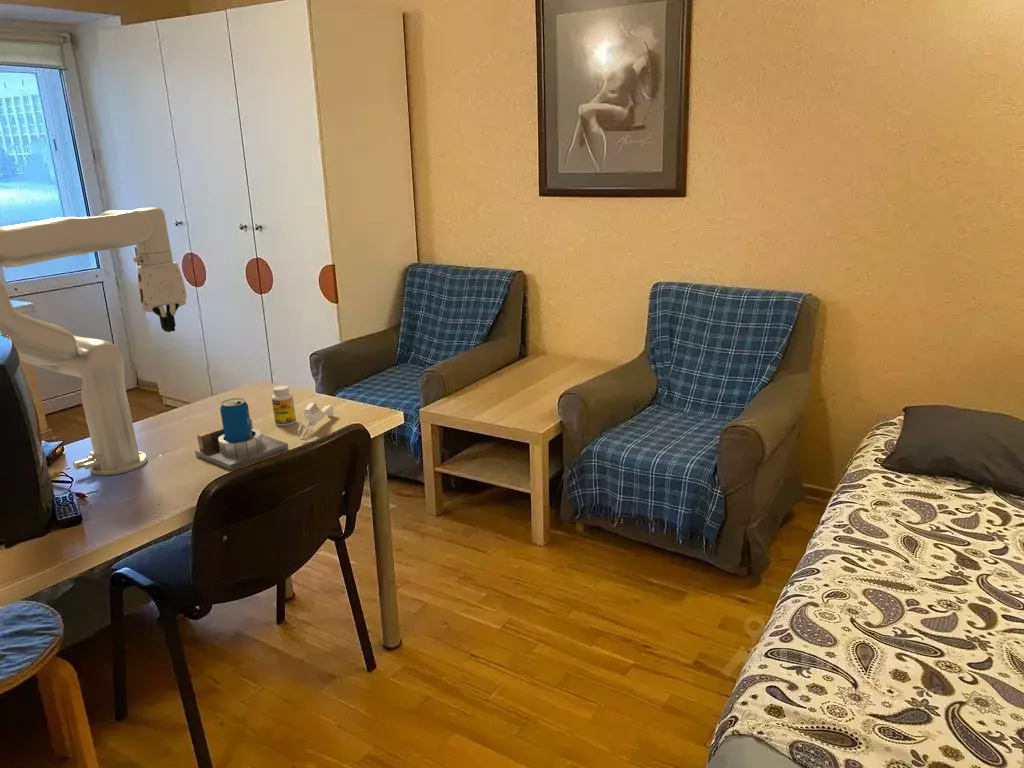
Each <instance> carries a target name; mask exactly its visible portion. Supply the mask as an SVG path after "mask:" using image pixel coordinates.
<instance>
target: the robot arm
mask: <svg viewBox="0 0 1024 768" xmlns="http://www.w3.org/2000/svg"><path fill="white" fill-rule="evenodd" d="M169 237H170V236H169V232H168V227H167V220H166V215H165V212H164V210H163V209H162V208H160V207H157V206H156V207H155V206H154V207H153V206H152V207H150V206H149V207H141V208H135V209H133V210H132V209H128V210H127V209H125V210H124V209H122V210H120V209H118V210H117V209H114V210H113V209H111V210H106V211H104V212H102V213H100V214H99V215H98V216H84V217H83V216H82V217H81V216H80V217H78V216H76V217H75V216H67V217H65V216H63V217H55V218H48V219H42V220H38V221H37V220H36V221H30V222H25V223H17V224H11V225H4V226H0V268H18V267H23V266H29V265H33V264H38V263H43V262H48V261H52V260H57V259H62V258H67V257H72V256H81V255H82V256H83V255H86V254H91V253H92V254H93V253H96V252H102V251H110V250H116V249H121V248H126V247H131V246H135V245H136V250H137V255H136V256H134V257H133V262H134V263H135V264H136V263H138V264H139V265H138V266H137V284H138V286H137V287H138V295H139V300H140V302H141V303H140V304H142V311H143V312H147V313H149V312H150V313H154V314H155V315H156V316H158V317H159V322H160V327H161V329H162V330H163V332H166V333H171V332H175V331H176V328H175V327H176V321H175V315H176V312H177V310H178V309H179V308H180V307H182V306H184V305H186V304H187V301H186V299H187V298H188V297H187V291H186V286H185V281H184V279H183V275H182V272H181V270H180V267H179V264H178V262H177V261H174V259H173V254H172V249H171V244H170V238H169ZM9 295H10V294H9V293H8V290H7V288H6V286H5V284H4V283H3V281H1V280H0V331H1V332H0V333H2V334H1V336H3V337H5V338H6V337H7V338H8V339H9V337H10V339H11V340H12V342H13V343H14V346H15V347H16V349H17V352H18V355H19V358H20V360H19V361H20V362H23V363H25V364H29V365H31V366H32V365H33V366H35V367H38V368H42V369H46V370H48V371H53V372H55V373H58V374H62V375H67V376H71V377H76V378H81V379H82V385H81V395H80V396H81V404H82V407H83V412H84V415H85V420H86V424H87V428H88V433H89V438H90V441H91V446H92V450H93V451H92V450H91V451H89V456H86V458H84V459H80V460H76V461H74V462H73V463H72V464H73V468H74V469H75V470H76V471H77V470H80V469H83V468H84V469H85V470H90V472H91V473H92V474H93V475H98V476H112V475H119V474H122V473H126V472H127V473H128V472H131V471H133V470H136V469H138V468H140V467H142V466H143V465H144V464H145V463H146V462H147V461H148V456H147V454H146V453H145V452H143V451H139V449H138V448H139V447H138V443H137V438H136V433H135V429H134V424H133V419H132V414H131V409H130V404H129V399H128V394H127V390H126V384H125V360H124V359H125V358H124V355H123V353H122V351H121V350H120V349H119V347H117V345H115V344H114V343H112V342H111V341H107V340H104V339H101V338H94V337H93V338H92V337H83V336H78V335H75V334H74V335H73V334H72V333H71V331H69V330H68V329H67V328H64V327H63V326H60V325H57V324H55V323H51V322H49V323H48V322H47V321H43V320H41V319H37V318H34V317H32V316H30V315H27V314H25V313H22V312H19V311H18V310H16V309H15V308H14V307H13V305H12V302H11V300H10V297H9ZM164 306H165V307H164ZM7 335H8V336H7ZM10 339H9V340H10Z"/></svg>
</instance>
